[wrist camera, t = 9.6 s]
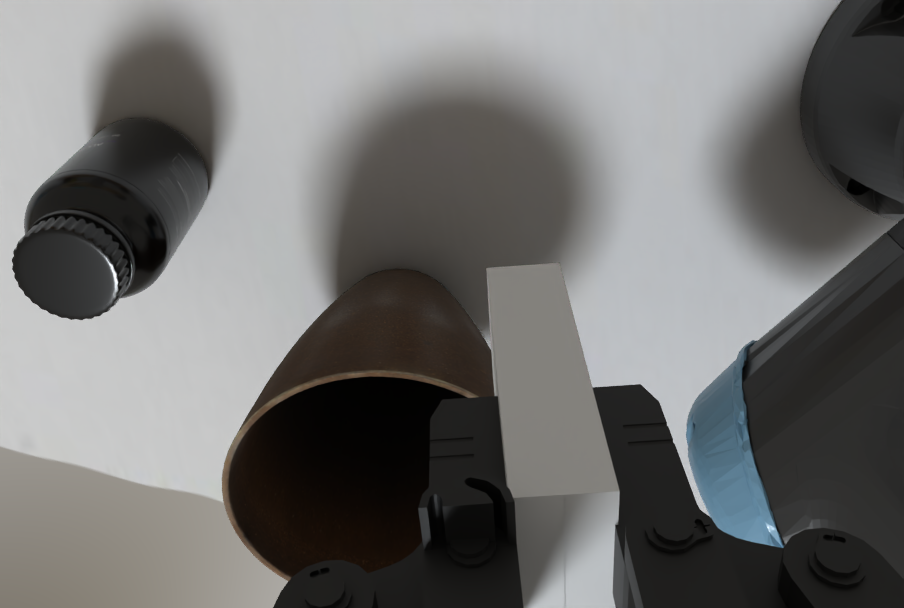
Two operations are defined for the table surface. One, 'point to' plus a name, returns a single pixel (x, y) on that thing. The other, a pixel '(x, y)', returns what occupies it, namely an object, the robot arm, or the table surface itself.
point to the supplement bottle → (109, 218)
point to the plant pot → (353, 426)
